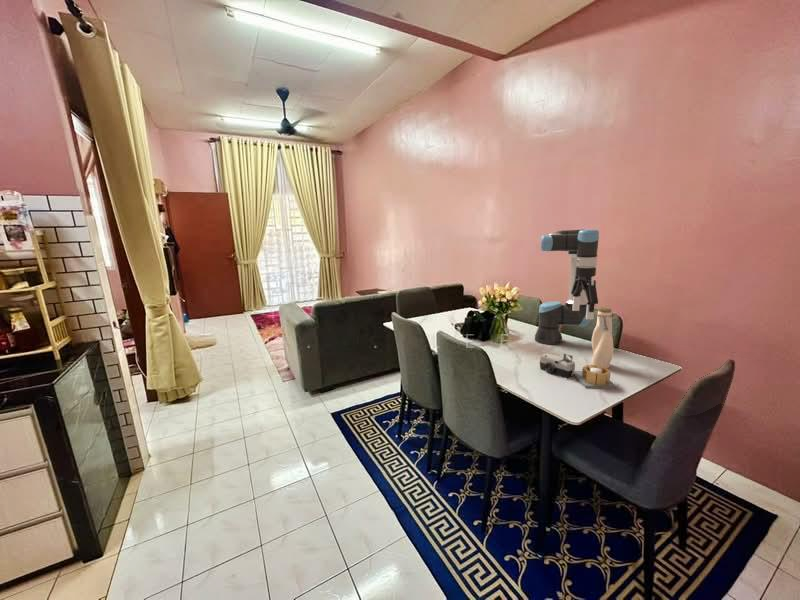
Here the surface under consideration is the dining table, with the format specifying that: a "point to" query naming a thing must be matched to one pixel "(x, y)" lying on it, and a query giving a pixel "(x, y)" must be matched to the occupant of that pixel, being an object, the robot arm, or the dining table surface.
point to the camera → (557, 365)
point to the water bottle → (603, 339)
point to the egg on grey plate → (579, 376)
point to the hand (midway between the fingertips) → (582, 314)
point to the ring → (596, 375)
